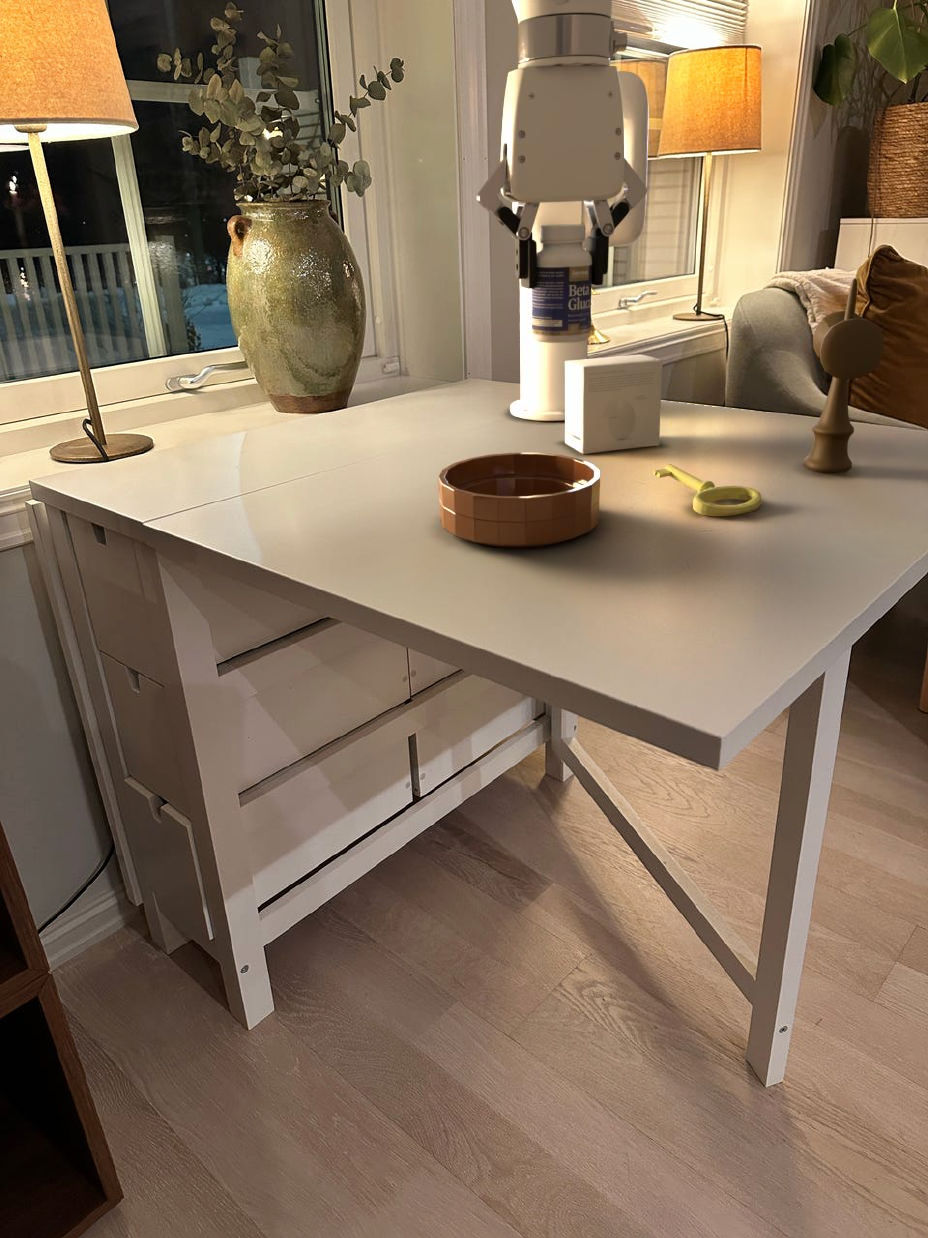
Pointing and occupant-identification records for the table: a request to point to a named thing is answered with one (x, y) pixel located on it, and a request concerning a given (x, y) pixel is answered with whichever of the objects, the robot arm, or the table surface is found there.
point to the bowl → (519, 499)
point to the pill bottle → (562, 286)
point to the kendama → (841, 380)
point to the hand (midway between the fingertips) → (561, 283)
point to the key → (713, 494)
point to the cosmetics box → (612, 403)
